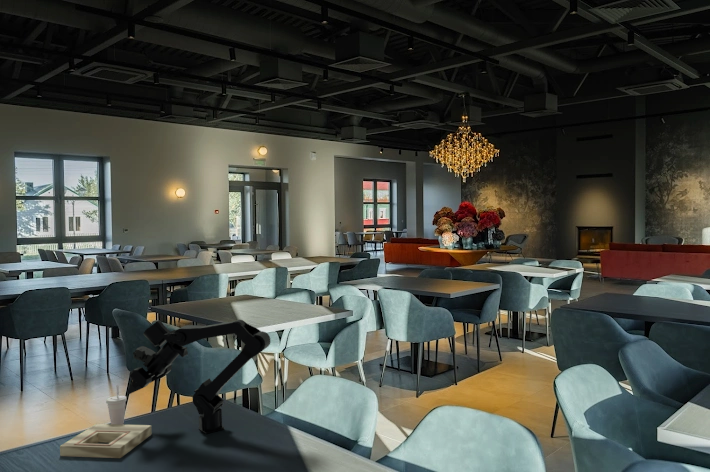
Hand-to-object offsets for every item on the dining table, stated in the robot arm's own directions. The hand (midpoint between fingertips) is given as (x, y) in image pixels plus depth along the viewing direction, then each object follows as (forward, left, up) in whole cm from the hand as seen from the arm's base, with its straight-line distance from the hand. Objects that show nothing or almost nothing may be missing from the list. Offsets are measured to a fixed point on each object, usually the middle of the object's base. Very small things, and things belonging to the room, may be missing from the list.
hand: (135, 388), depth 195 cm
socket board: (+12, +10, -13) cm, 20 cm away
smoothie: (+5, -5, -13) cm, 15 cm away
